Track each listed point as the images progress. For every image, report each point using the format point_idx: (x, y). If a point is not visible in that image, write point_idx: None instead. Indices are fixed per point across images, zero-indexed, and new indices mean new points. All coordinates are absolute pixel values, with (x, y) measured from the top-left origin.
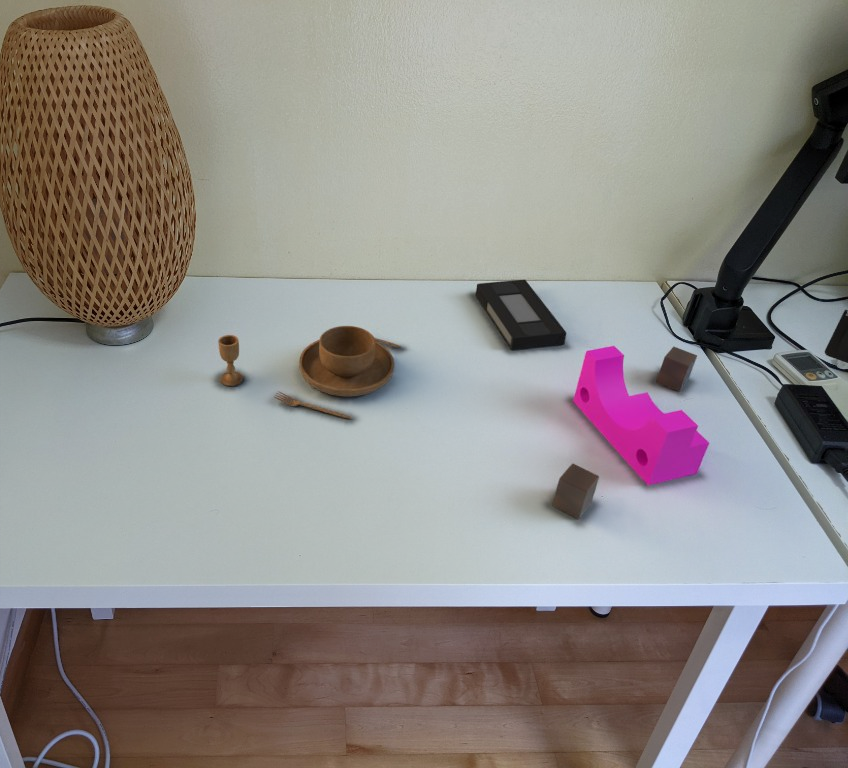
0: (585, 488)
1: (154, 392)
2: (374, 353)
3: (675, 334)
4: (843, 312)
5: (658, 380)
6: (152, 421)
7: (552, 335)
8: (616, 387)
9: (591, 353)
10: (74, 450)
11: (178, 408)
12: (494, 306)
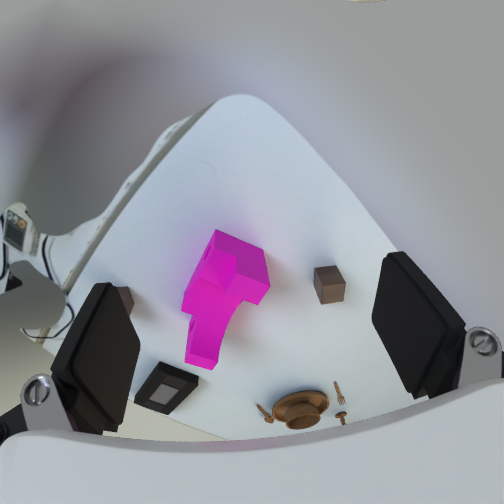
0: (342, 285)
1: (366, 416)
2: (295, 411)
3: (71, 317)
4: (426, 394)
5: (133, 304)
6: (382, 405)
7: (168, 373)
8: (205, 329)
9: (211, 367)
10: (408, 401)
11: (370, 408)
12: (178, 402)
